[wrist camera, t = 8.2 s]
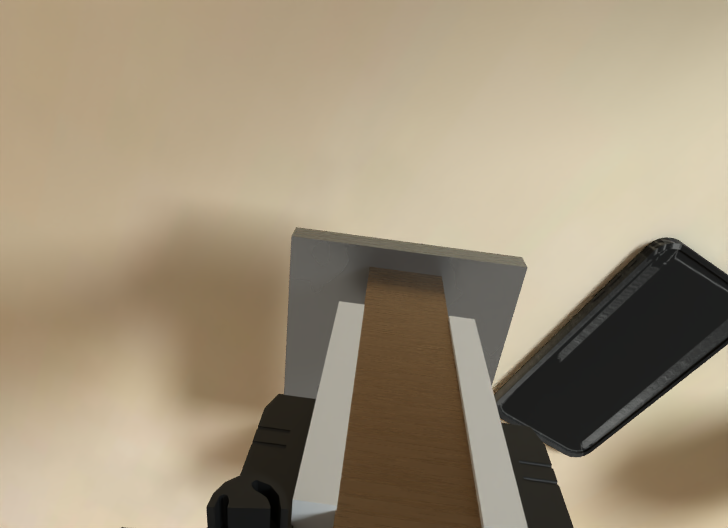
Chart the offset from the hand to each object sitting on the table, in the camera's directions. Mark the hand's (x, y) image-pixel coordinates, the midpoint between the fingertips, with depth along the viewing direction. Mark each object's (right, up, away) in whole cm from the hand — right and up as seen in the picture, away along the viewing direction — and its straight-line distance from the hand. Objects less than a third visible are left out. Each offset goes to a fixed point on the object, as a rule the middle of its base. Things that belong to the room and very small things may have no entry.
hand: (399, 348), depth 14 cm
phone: (+14, -3, +15) cm, 21 cm away
